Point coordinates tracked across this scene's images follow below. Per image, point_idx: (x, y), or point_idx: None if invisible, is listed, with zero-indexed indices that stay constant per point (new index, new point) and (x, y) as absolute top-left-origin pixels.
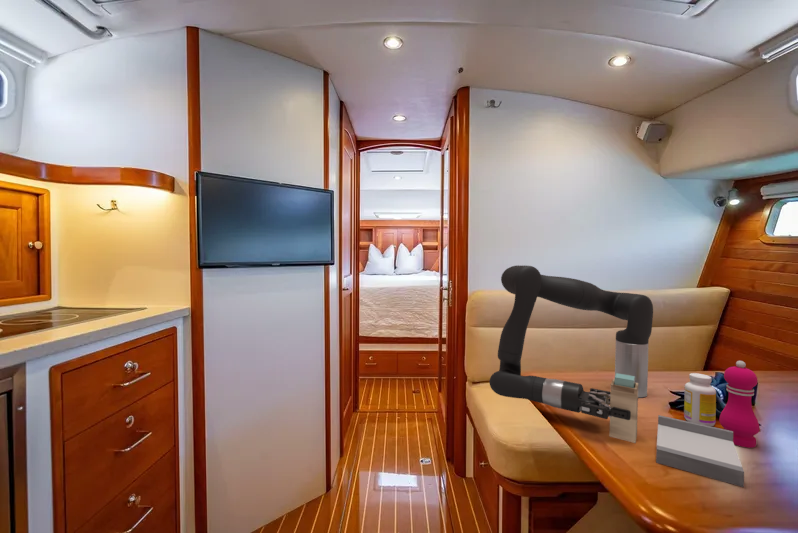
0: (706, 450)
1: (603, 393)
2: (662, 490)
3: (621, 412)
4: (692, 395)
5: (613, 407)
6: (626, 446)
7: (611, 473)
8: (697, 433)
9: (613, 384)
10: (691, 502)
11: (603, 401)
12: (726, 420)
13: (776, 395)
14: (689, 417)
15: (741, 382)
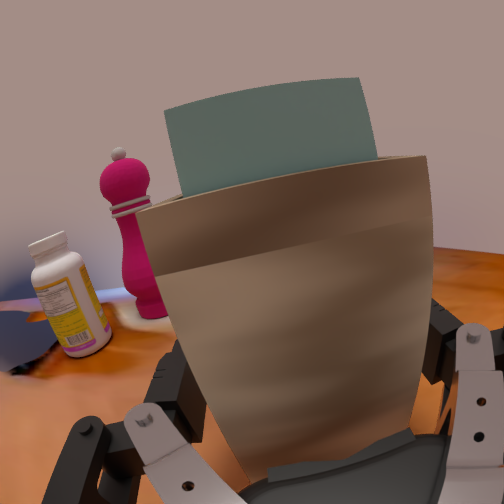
0: None
1: (192, 480)
2: (500, 288)
3: (440, 307)
4: (71, 283)
5: (449, 328)
6: (414, 407)
7: None
8: None
9: (395, 157)
10: (479, 270)
11: (472, 370)
12: None
13: (12, 305)
14: (91, 341)
15: (147, 177)
